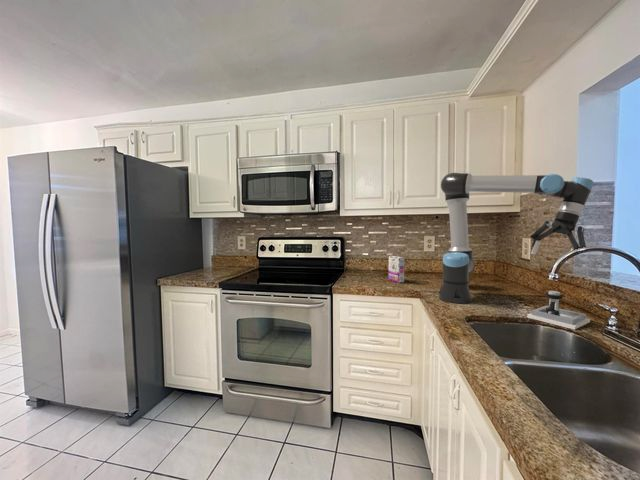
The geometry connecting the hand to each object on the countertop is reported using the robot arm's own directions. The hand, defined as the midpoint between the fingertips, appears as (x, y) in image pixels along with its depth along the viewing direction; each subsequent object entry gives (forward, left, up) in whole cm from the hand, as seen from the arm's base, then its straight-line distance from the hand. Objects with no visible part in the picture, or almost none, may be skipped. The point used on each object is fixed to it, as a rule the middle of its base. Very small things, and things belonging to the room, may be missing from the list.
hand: (549, 258), depth 123 cm
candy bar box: (-76, -17, -23) cm, 81 cm away
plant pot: (-45, +5, -23) cm, 51 cm away
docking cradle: (+9, -14, -23) cm, 28 cm away
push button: (+7, -14, -22) cm, 27 cm away
